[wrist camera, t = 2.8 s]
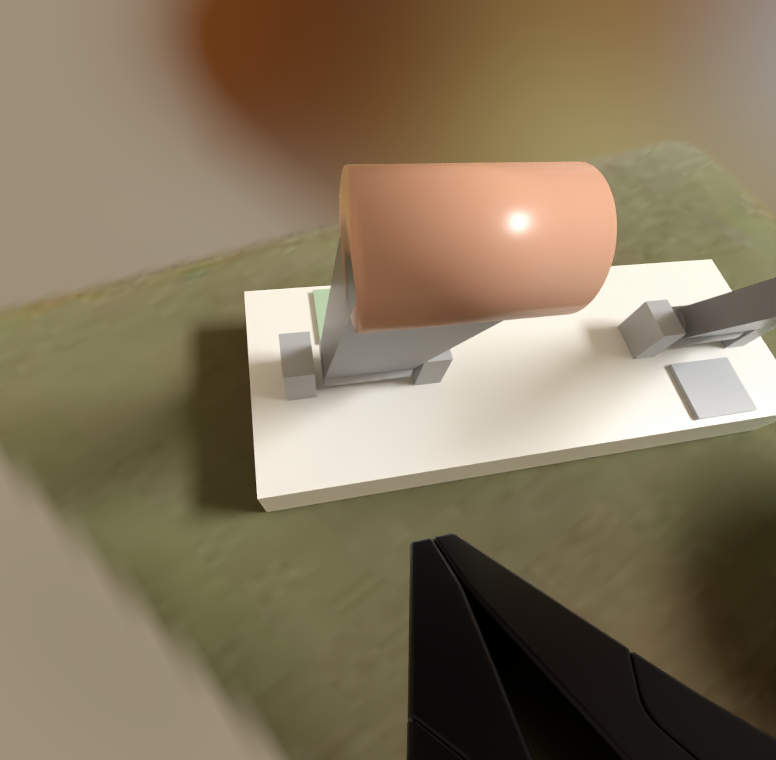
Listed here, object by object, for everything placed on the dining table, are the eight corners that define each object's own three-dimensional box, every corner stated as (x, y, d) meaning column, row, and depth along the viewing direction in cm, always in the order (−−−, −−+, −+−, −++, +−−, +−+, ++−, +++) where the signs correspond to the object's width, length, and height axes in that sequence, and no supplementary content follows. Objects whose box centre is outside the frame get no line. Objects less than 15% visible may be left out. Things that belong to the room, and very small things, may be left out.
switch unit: (753, 430, 20) (855, 391, 16) (266, 512, 16) (248, 486, 12) (674, 291, 23) (743, 232, 19) (253, 326, 19) (235, 259, 15)
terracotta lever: (405, 384, 16) (630, 290, 5) (324, 394, 15) (373, 310, 4) (398, 331, 16) (600, 125, 5) (317, 338, 16) (348, 123, 4)
